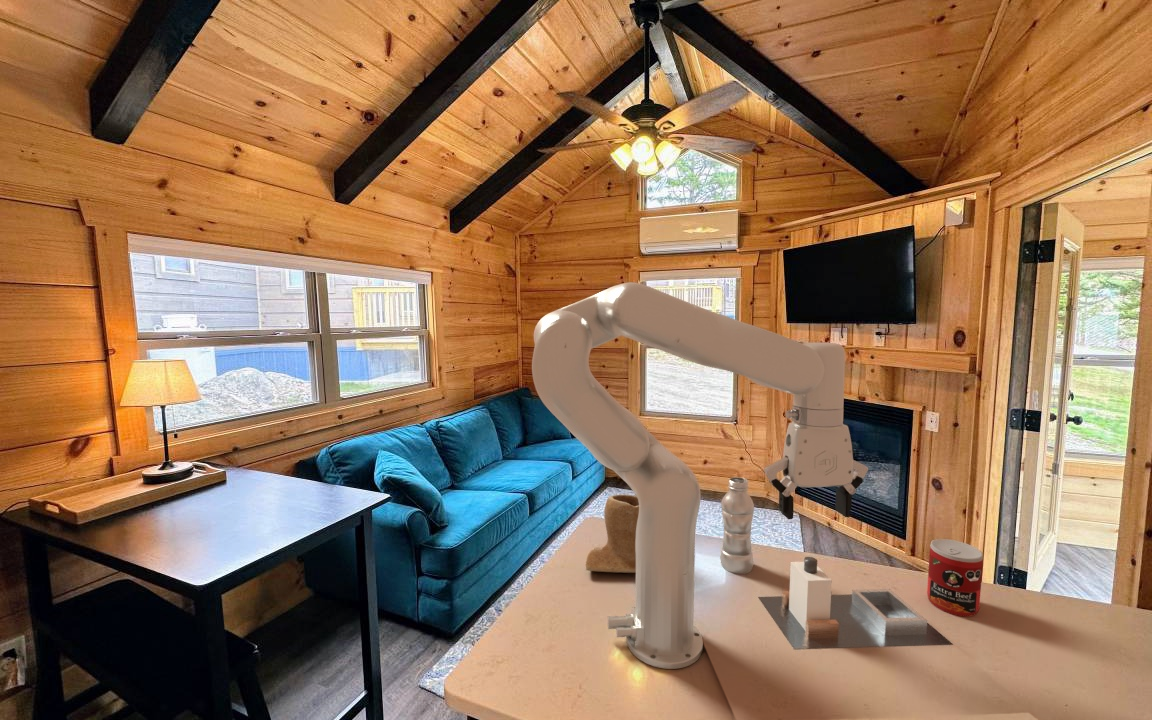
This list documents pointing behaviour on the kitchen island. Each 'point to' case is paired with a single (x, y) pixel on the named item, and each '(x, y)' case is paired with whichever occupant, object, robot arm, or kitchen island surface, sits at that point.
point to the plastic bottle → (737, 527)
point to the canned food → (955, 577)
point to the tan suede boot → (617, 537)
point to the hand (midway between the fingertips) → (814, 515)
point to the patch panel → (856, 622)
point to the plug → (809, 591)
